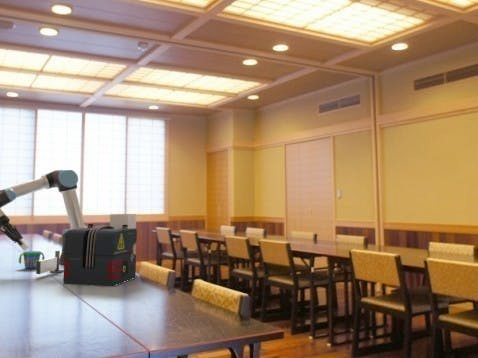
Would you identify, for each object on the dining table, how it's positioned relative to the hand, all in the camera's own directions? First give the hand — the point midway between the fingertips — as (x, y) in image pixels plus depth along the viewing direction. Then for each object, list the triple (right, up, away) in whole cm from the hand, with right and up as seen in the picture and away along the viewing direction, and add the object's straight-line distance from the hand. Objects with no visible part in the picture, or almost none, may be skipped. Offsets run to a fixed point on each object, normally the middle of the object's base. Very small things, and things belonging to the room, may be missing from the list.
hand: (26, 248), depth 273 cm
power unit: (+48, -15, -19) cm, 54 cm away
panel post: (+13, -15, +12) cm, 23 cm away
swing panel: (+12, -13, -1) cm, 18 cm away
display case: (+52, -16, +9) cm, 55 cm away
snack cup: (-8, -16, +26) cm, 32 cm away
